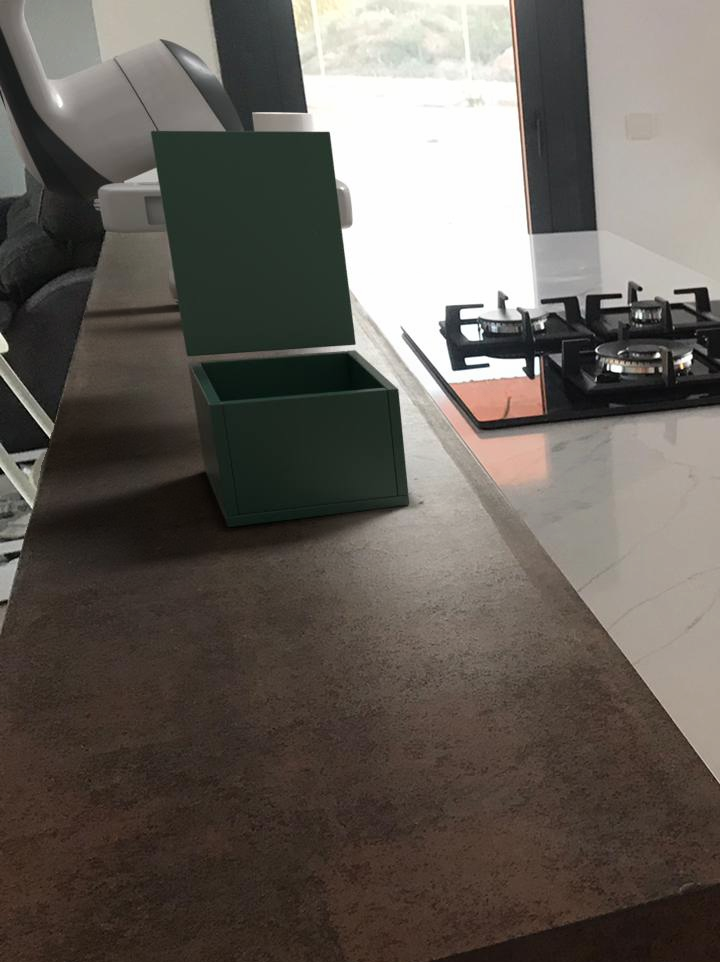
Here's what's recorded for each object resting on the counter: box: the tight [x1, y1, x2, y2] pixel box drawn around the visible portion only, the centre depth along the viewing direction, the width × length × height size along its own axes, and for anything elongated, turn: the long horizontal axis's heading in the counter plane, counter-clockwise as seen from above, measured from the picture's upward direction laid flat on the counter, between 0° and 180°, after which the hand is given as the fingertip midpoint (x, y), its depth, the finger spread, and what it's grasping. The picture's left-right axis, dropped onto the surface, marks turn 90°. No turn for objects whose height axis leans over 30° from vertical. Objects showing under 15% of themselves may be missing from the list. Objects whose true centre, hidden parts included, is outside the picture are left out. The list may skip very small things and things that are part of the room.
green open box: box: [187, 349, 410, 528], centre depth 97 cm, size 16×13×9 cm
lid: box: [151, 130, 357, 357], centre depth 100 cm, size 16×13×1 cm
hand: (239, 214), depth 106 cm, fingers closed
